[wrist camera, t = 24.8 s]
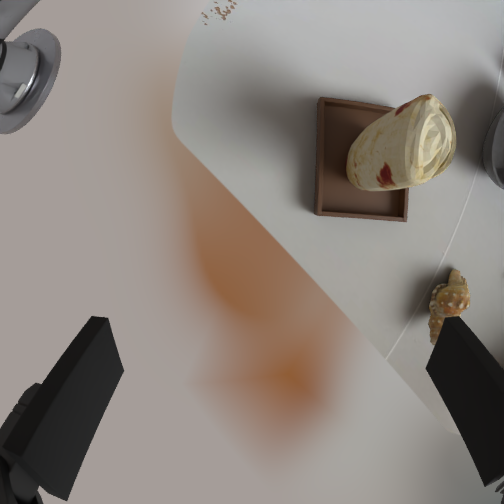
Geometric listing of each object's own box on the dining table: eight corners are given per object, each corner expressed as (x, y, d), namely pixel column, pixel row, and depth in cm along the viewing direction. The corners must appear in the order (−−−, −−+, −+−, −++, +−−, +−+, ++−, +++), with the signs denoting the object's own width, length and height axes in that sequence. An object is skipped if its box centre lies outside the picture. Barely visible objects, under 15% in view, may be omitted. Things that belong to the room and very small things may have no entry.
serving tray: (313, 214, 42) (317, 215, 39) (316, 102, 39) (320, 96, 36) (398, 220, 42) (406, 222, 39) (400, 115, 39) (408, 110, 36)
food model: (353, 120, 39) (416, 70, 19) (393, 142, 39) (475, 113, 19) (328, 181, 40) (382, 170, 21) (369, 202, 41) (446, 210, 21)
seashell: (448, 310, 47) (456, 353, 39) (413, 300, 48) (417, 343, 41) (473, 273, 41) (488, 315, 34) (437, 260, 43) (448, 302, 35)
